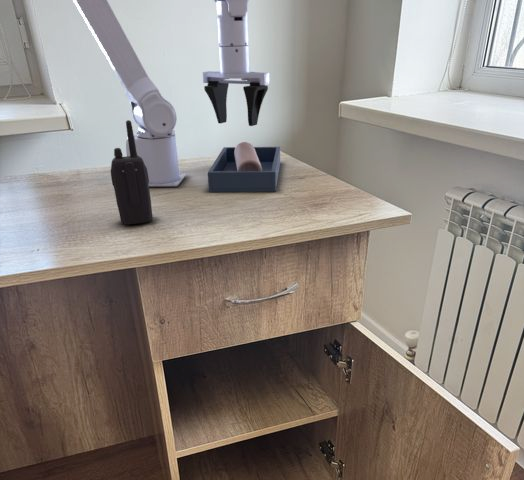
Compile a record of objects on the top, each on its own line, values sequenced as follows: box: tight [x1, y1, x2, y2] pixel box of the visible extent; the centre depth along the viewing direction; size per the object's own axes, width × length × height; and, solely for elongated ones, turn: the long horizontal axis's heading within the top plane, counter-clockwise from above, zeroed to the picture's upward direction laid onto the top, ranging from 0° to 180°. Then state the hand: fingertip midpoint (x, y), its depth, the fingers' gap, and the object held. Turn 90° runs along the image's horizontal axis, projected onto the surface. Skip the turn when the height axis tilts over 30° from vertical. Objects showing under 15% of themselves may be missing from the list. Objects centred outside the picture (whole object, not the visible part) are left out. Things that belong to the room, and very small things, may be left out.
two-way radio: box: [110, 119, 153, 226], centre depth 76 cm, size 6×4×15 cm
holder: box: [207, 146, 281, 193], centre depth 102 cm, size 13×23×4 cm, turn 176°
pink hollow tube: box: [234, 141, 262, 171], centre depth 101 cm, size 5×5×18 cm
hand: (237, 123), depth 101 cm, fingers open, 7 cm apart
